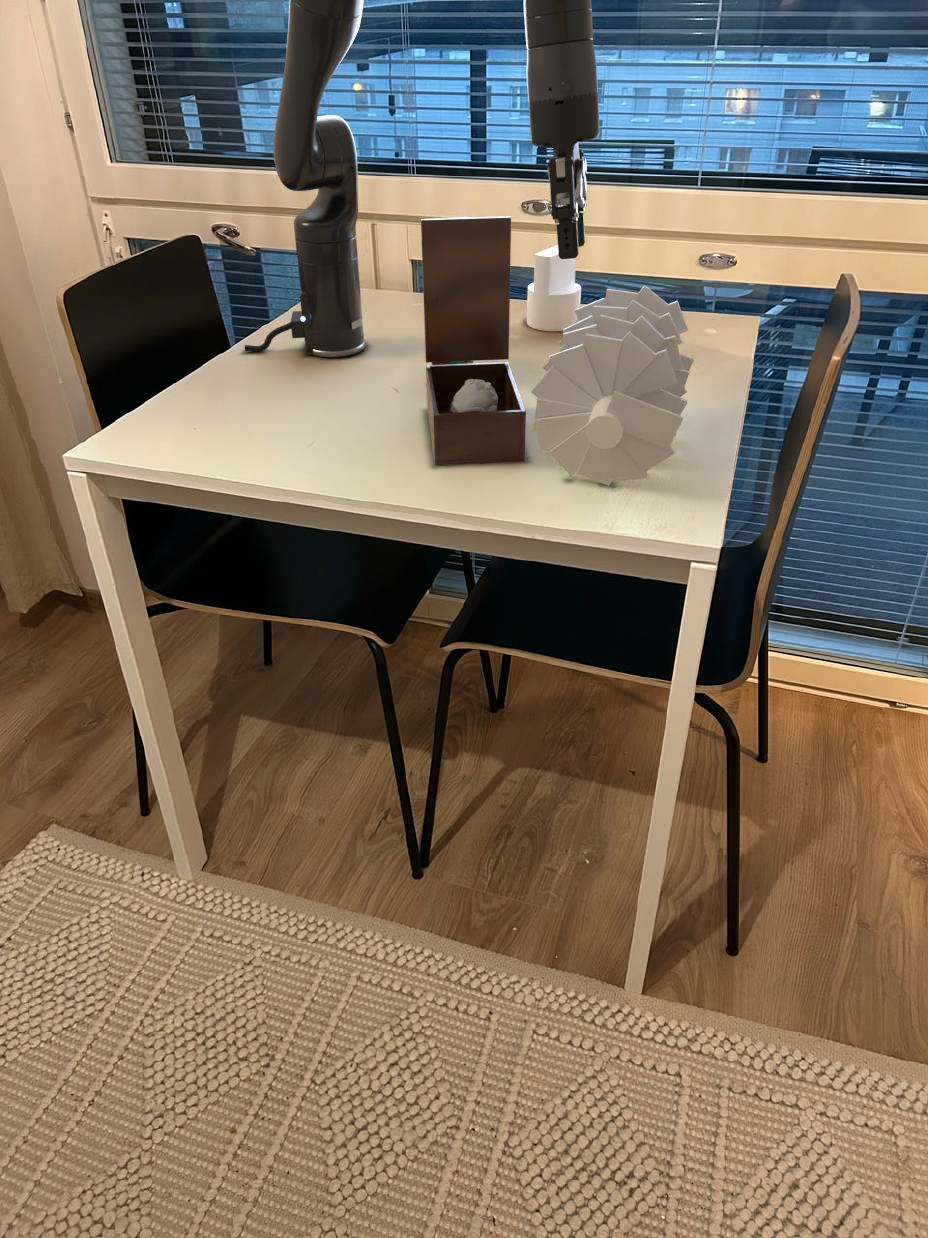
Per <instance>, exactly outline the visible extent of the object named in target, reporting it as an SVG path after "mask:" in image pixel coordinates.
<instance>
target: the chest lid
mask: <svg viewBox="0 0 928 1238" xmlns="http://www.w3.org/2000/svg"><path fill="white" fill-rule="evenodd" d="M420 232H421V233H420V234H421V237H420V238H421V263H422V265H421V266H422V291H423V292H422V293H423V295H422V296H423V322H424V349H425V351H424V352H425V363H427V364H428V363H432V362H454V361H473V362H475V361H476V362H478V361H501V360H502V361H503V360H504V361H505V360H509V359H510V316H511V315H510V313H511V312H510V310H511V309H510V307H511V262H512V261H511V258H512V257H511V254H512V253H511V252H512V217H511V216H509V215H507V216H482V217H481V216H476V217H475V216H474V217H445V218H443V217H442V218H420Z"/></svg>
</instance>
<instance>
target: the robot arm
mask: <svg viewBox="0 0 928 1238" xmlns="http://www.w3.org/2000/svg"><path fill="white" fill-rule="evenodd" d="M288 4H289V6H288V7H289V8H288V28H287V37H286V38H287V39H286V52H285V60H284V61H285V62H284V68H283V69H284V71H283V77H282V85H281V90H280V96H279V101H278V106H277V107H278V108H277V114H276V120H275V127H274V135H273V160H274V166H275V171H276V174H277V177H278V179H279V180H280V182H281V184H282V185H283V186H284V187H285V188H286V189H289V190H290V191H293V192H306V191H308V192H309V191H314V190H317V195H316V196H315V198H314V200H313V201H312V202H311V203H310V205H309V206H307V207H306V208H305V209H304V210H302V211H301V212H300V213H299V214H297V215H296V216H295V218H294V220H293V231H294V240H295V249H296V258H297V268H298V277H299V287H300V293H299V300H300V301H299V302H300V309H301V310H293V311H292V313H291V316H290V317H291V318H290V322H288V323H286V324H285V323H284V324H282V325H281V326H278V327H276V328H274V329H272V330H271V331H270V332H269V333H268V334H267V335H266V337H265V339H264V340H263V341H264V342H263V343H262V344H260V345H250V344H244V351H245V352H253V353H261V352H263V351H266V350H267V349H268V348H269V347H270V345H271V343H272V341H273V339H275V338H276V337H277V336H279V335H280V334H282V333H284V332H287V331H290V330H291V339H304V346H305V354H306V355H305V356H316V357H320V358H321V357H322V358H340V357H341V358H342V357H349V356H353V355H356V354H358V353H360V352H362V351H363V350H365V347H366V342H365V334H364V325H363V322H364V321H363V310H362V295H361V281H360V270H359V269H360V267H359V255H358V242H357V240H358V239H357V222H358V218H359V177H358V176H359V174H358V173H359V172H358V171H359V169H358V153H357V147H356V141H355V137H354V133H353V132H352V130H351V127H350V126H349V124H348V122H347V121H346V120H344V118H343V117H341V116H339V115H335V114H333V115H332V114H330V115H329V114H328V115H319V111H320V107H321V103H322V98H323V96H324V93H325V91H326V88H327V86H328V84H329V82H330V81H331V78H332V77H333V75H334V74H335V72H336V70H337V69H338V67H339V66H340V64H341V62H342V61H343V59H344V58H345V56H346V55H347V53H348V52H349V49H350V48H351V46H352V45H353V43H354V40H355V38H356V36H357V34H358V32H359V29H360V25H361V21H362V15H363V8H364V0H289V3H288ZM592 10H593V9H592V0H523V16H524V17H523V18H524V29H525V42H526V44H525V45H526V49H527V50H526V87H527V100H528V111H529V124H530V127H529V128H530V138H531V139H530V140H531V144H532V145H533V146H534V147H551V149H552V155H553V156H552V157H551V158H548V162H547V176H548V180H549V199H550V204H551V211H550V216H551V217H552V220H553V221H554V224H556V237H557V238H556V239H557V245H558V254H559V258H560V259H572V258H576V259H577V258H578V256H579V255H580V251H579V247H580V248H581V247H583V246H584V245H585V243H586V233H585V216H584V215H585V214H584V212H585V209H586V207H587V206H586V201H587V191H588V190H587V177H586V176H587V169H588V168H587V167H588V166H587V159H586V158H584V157H585V152H584V151H583V150H584V149H583V148H580V147H579V143H580V142H586V141H587V142H588V141H591V140H595V139H597V138H598V137H599V136H600V132H601V131H600V112H599V111H600V110H599V109H600V107H599V88H598V67H597V66H598V65H597V58H596V53H595V46H594V31H593V27H594V26H593V11H592Z"/></svg>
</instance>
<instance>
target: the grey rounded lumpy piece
mask: <svg viewBox="0 0 928 1238" xmlns="http://www.w3.org/2000/svg"><path fill="white" fill-rule="evenodd" d="M497 405H498V396H497V394H496V392H495V390H494V388H493V387H492V386H491V383H489V382H485V381H484V380H477V379H475V380H474V379H469V380H466V381H465V385H463V386H462V387H461V389H460V390H459V391H458V392H457V393H456V395H455V396H454V400H453V402H452V404H451V408H450V413H462V412H485V411H498V408H497Z"/></svg>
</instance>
